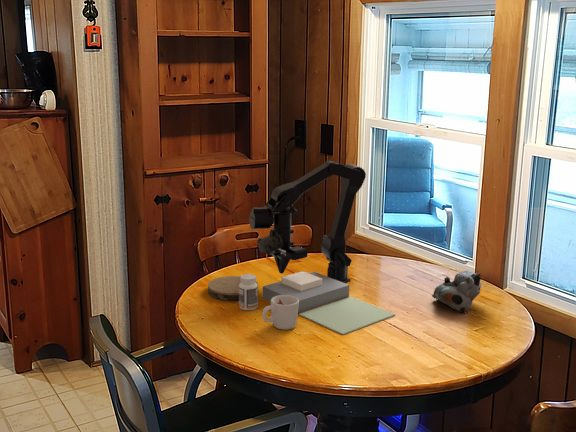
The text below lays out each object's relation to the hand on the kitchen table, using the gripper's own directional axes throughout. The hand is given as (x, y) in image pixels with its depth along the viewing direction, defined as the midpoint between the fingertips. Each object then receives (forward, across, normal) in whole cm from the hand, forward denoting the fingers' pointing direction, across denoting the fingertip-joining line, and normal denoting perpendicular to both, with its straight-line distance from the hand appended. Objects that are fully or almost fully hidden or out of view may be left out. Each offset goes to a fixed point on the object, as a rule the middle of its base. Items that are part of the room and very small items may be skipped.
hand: (281, 273), depth 225 cm
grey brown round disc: (+5, -6, -15) cm, 17 cm away
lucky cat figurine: (+5, +45, +31) cm, 55 cm away
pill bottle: (+5, +7, -19) cm, 21 cm away
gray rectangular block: (+5, +12, 0) cm, 13 cm away
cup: (+5, +24, -21) cm, 32 cm away
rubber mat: (+5, +30, 0) cm, 30 cm away
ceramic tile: (+1, +10, 0) cm, 10 cm away
